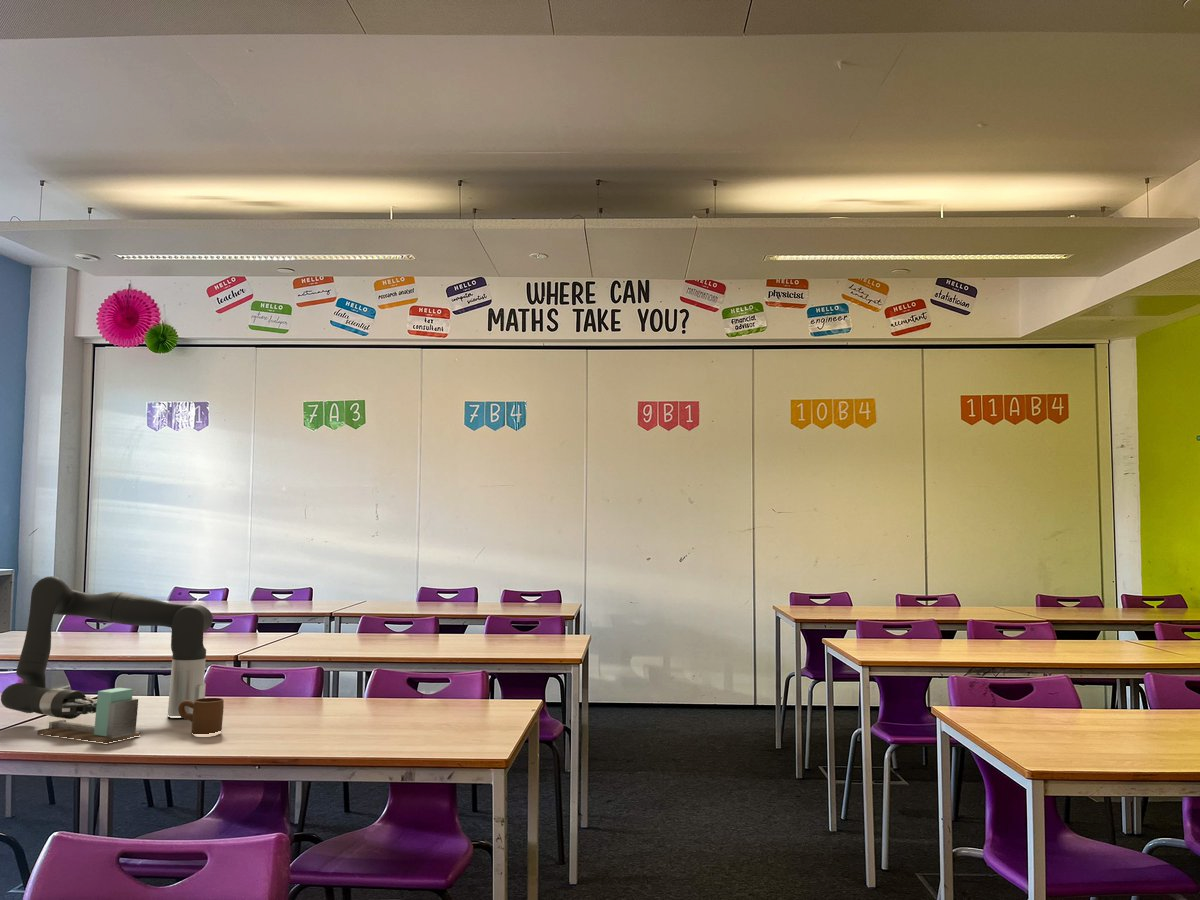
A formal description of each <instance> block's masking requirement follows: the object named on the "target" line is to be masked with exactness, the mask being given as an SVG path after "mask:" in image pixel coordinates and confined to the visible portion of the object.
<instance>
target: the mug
mask: <svg viewBox="0 0 1200 900" xmlns="http://www.w3.org/2000/svg"><path fill="white" fill-rule="evenodd" d="M224 700H225V699H224V698H221V697H205V698H202V699H197V700H195V701H194V702H192V701H190V700H186V701H183V702H182V703H181V704H180V705H179V708H178V711H179V714H180V716H181V717H182V718H184V719H185V720H188V721H190V722H191V734H192V733H193V734H209V733H215V732H218V731H221V730H223V720H224V705H225V704H224V702H225V701H224ZM185 706H188V707H190V708H193V714H192V713H187V712H186V711H185ZM184 719H183V720H184ZM221 732H222V731H221Z"/></svg>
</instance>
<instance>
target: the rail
mask: <svg viewBox="0 0 1200 900" xmlns="http://www.w3.org/2000/svg"><path fill="white" fill-rule="evenodd" d="M138 707H139V699H138V698H132V699H127V700H121V701H115V702H110V703H109V714H108V724H107V735H106V738H110V739H113V738H117V737H122V736H127V735H131V734H135V733H136V732H137V731H136V730H137V719H138ZM48 728H51V729H52V728H62V729H70V730H77V731H84V732H91V733H94V728H95V725H92V724H85V723H84V724H82V723H76V722H68V721H67V719H59V720H58V719H57V720H52V721H49V722H48Z"/></svg>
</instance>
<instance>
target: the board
mask: <svg viewBox="0 0 1200 900" xmlns="http://www.w3.org/2000/svg"><path fill="white" fill-rule="evenodd" d="M37 734H43V735H51V736H59V737H67V738H74V739H81V740H88V741H96V742H103V743H109V742H113V741H118V740H123V739H127V738H130V737H134V736H139V735H140V736H141V732H140V731H136V733H135V734H131V735H127V736H122V737H117V738H113V739H110V738H106V736H100V735H94V733H91V732H84V731H77V730H70V729H62V728H52V729H51V728H49V727H48V728H42V729H37Z"/></svg>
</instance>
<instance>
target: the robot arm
mask: <svg viewBox="0 0 1200 900" xmlns="http://www.w3.org/2000/svg"><path fill="white" fill-rule="evenodd" d="M29 605H30V606H29V607H30V608H29V615H28V621H27V626H26V627H27V628H26V632H25V637H24V641H23V646H22V650H21V653H20V657H19V660H18V663H17V666H16V672H15V673H16V675H17V676H18V677H19V678H20V679H21V680H23V681H24V683H22V682H21V683H20V682H17V683H16V682H15V683H12V684H10V685H8V686H7V687H5V689H4V690H3V691H2V693H1V696H0V702H1V704H2V706H3V707H5V708H6V709H10V710H13V711H17V712H21V713H26V714H33V713H35V714H40V715H46V716H48V717H52V718H53V717H54V718H58V719H59V718H60V719H64V720H73V719H76V718H78V717H80V716H81V715H87V714H96V707H97V699H96V698H95V699H93V698H91V697H89V696H88V697H87V696H86V694H85V693H84V692H82V691H81V690H73V689H66V688H51V687H46V686H47V684H46V670H47V666H48V663H49V659H50V655H51V648H52V625H53V618H54V615H57V616H58V615H59V616H60V615H61V616H76V617H84V618H90V619H94V620H99V621H104V622H109V623H114V624H119V625H127V626H136V627H137V626H138V627H139V626H140V627H142V626H143V627H154V626H155V627H165V628H166V627H168V628H171V633H170V634H171V635H170V637H171V639H170V648H171V653H172V659H171V669H170V670H171V671H170V672H171V673H170V680H169V681H170V682H169V683H170V684H169V694H168V706H167V716H168V715H169V716H180V714H179V711H178V708H179V705H180V704H181V703H182V702H183V701H186V700H190V701H192V702H194V701H195V700H197V699H202V698H206V686H207V683H206V682H205V671H206V669H205V668H206V661H207V660H206V657H207V649H206V648H205V646H204V633H205V632H206V631H208V630H209V629H210V627H212V624H213V622H214V618H213V617H214V616H213V614H212V612H211V611H210V610H209V609H208V608H207V607H206V606H204V605H201V604H181V603H174V602H168V601H167V602H166V601H163V600H159V599H155V598H151V597H147V596H142V595H137V594H133V593H128V592H122V591H121V592H119V591H111V592H104V593H103V592H102V593H97V594H96V593H87V592H83V591H79V590H76V589H72V588H70V587H69V586H68V584H67V583H66V582H64V581H63V580H62V579H61V578H59V577H57V576H53V575H52V576H46V577H43V578H40V579H39V580H38V581H37V582H36V583H35V584H34V586H33V587H32V590H31V595H30V604H29ZM185 711H186V712H187V713H192V714H193V708H190V707H188V706H185Z"/></svg>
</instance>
